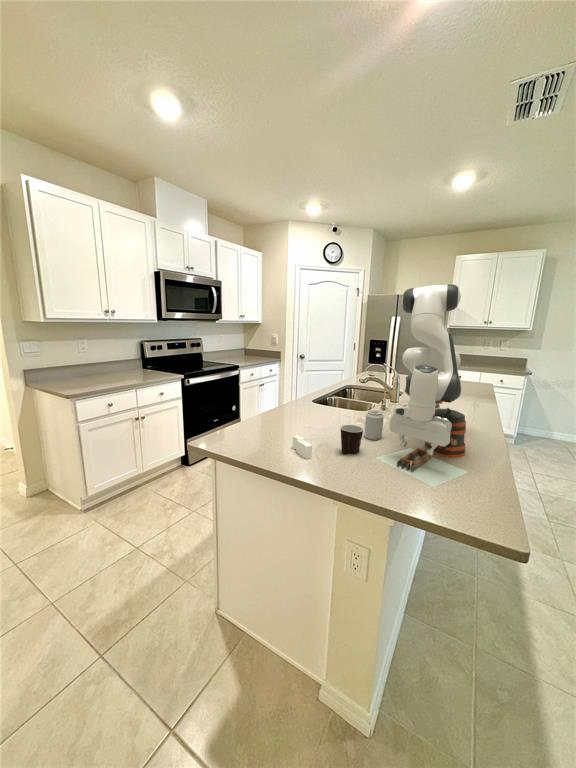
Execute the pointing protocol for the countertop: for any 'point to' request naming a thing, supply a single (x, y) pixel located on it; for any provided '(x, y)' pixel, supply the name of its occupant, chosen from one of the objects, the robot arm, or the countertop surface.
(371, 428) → the can
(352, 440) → the coffee mug
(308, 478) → the countertop surface
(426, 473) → the wall panel
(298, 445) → the napkin holder
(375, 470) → the countertop surface
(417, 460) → the dark brown long piece
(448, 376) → the robot arm
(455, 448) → the striped backpack
